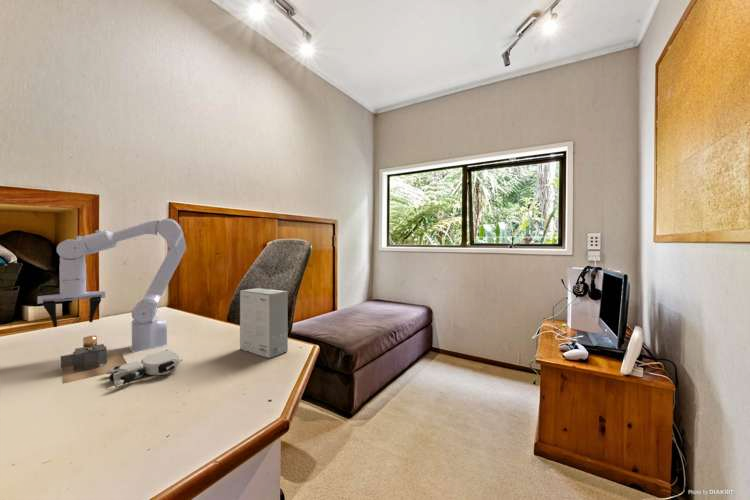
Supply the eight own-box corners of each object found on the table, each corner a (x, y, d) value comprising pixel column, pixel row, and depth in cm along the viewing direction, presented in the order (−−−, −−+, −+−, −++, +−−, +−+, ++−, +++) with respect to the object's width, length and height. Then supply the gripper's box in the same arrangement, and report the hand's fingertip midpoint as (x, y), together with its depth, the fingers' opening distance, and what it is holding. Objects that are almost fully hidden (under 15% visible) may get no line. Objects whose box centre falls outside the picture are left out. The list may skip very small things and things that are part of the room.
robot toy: (116, 397, 72) (186, 372, 83) (114, 378, 71) (185, 356, 83) (105, 381, 80) (171, 360, 91) (103, 365, 79) (169, 346, 91)
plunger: (100, 358, 89) (100, 333, 89) (102, 362, 86) (102, 337, 86) (78, 362, 86) (77, 337, 86) (78, 367, 83) (78, 340, 82)
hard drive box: (288, 351, 100) (288, 291, 100) (269, 359, 93) (269, 294, 93) (258, 343, 108) (258, 287, 108) (238, 349, 102) (238, 289, 101)
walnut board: (120, 353, 97) (120, 351, 97) (129, 370, 84) (129, 368, 84) (62, 364, 88) (62, 363, 88) (62, 385, 75) (62, 383, 75)
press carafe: (105, 359, 91) (105, 343, 91) (108, 365, 86) (107, 348, 86) (60, 367, 84) (60, 350, 84) (60, 375, 79) (60, 357, 79)
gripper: (103, 276, 100) (104, 317, 101) (38, 280, 90) (38, 325, 90) (106, 278, 96) (106, 321, 96) (36, 282, 85) (37, 330, 85)
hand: (73, 324), depth 93 cm, fingers open, 7 cm apart
